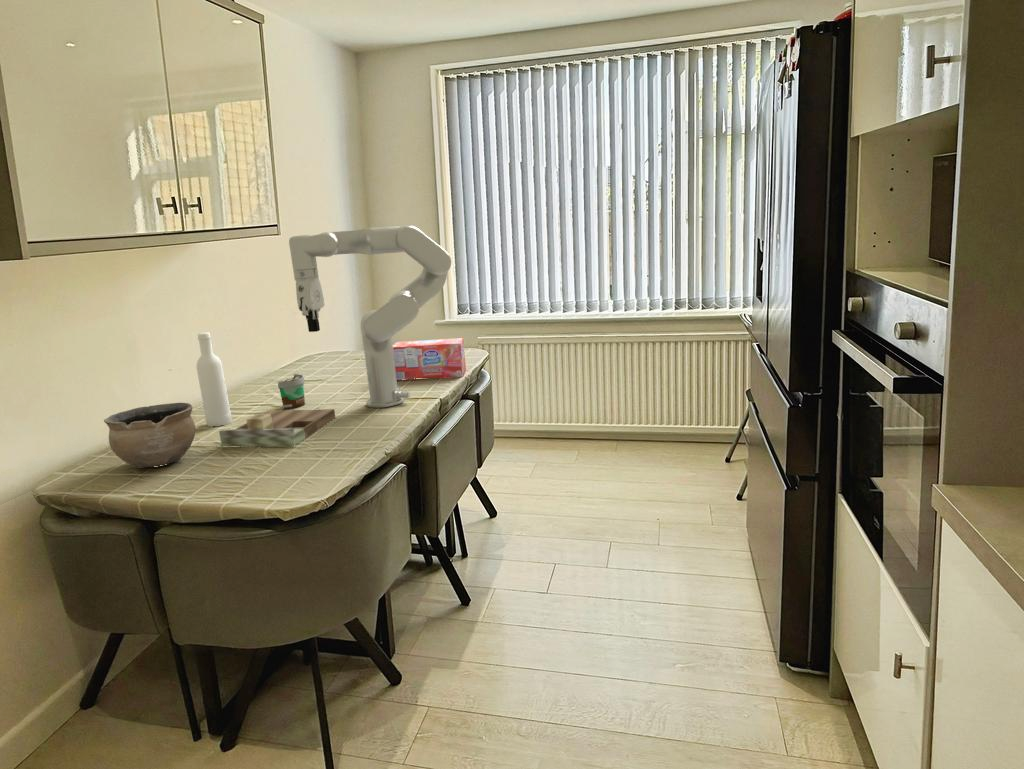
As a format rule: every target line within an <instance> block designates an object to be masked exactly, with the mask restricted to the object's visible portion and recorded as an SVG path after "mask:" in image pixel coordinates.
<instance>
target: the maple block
mask: <svg viewBox="0 0 1024 769" xmlns="http://www.w3.org/2000/svg"><path fill="white" fill-rule="evenodd" d="M245 420H246V423H247V426H248V429H273V424H272V418H271V414H264V413H261V414H258V413H257V414H254V415H252V416H250V417H248V418H247V419H245Z"/></svg>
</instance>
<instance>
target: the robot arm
mask: <svg viewBox="0 0 1024 769" xmlns="http://www.w3.org/2000/svg"><path fill="white" fill-rule="evenodd" d="M288 246H289V251H290V258H291V264H292V270H293V277H294V281H295V292H296V301H297V308H298V310H299V311H300V312H301V315H302V316H305V320H306V321H307V329H308V332H309V333H315V332H319V331H320V330H321V328H320V322H319V318H320V317H319V316H320V315H319V312H320V311H321V309H323V308H324V307H325V299H324V295H323V294H324V293H323V290H322V285H321V282H320V281H321V280H320V278H319V277H320V276H319V271H318V270H319V269H318V262H317V257H321V258H328V257H329V258H330V257H332V256H337V255H350V254H351V255H354V254H355V255H356V254H361V255H371V256H372V255H373V256H374V255H383V254H385V255H387V254H396V253H406V255H408V256H409V257H410V258H411V259H413V261H415V262H417V264H420V266H421V267H423V268H422V270H421V273H420V274H419V275H418V276H417V277H416V278H415V279H414V280H412V281H411V282H410V283H408V284H407V285H406V286H404V287H403V288H401V289H400V290H398V291H397V292H395V293H394V294H392V295H391V296H390V298H389V299H388V302H386V303H385V304H383V305H382V306H381V307H379V309H372V310H369V311H367V312H366V313H364V314H363V316H362V318H361V320H360V331H361V336H362V337H361V338H362V345H363V351H364V360H365V368H366V375H367V383H368V390H369V399H368V400H366V402H365V404H366V407H370V408H378V409H379V408H387V407H388V408H389V407H393V406H397V405H401V404H402V403H403V402H404V399H410V397H411V394H410V392H409V391H408V390H407V391H402V389H401V387H398V381H397V378H396V370H395V361H394V352H393V345H394V344H393V338H392V337H393V336H394V335H396V334H397V333H399V332H400V331H401V330H403V329H404V328H405V327H407V326H408V325H409V324H411V323H413V321H414V320H415V319H416V318H417V316H418V314H419V311H420V309H421V308H422V307H424V306H425V305H426V304H427V303H428V302H430V301H431V300H433V299H434V298H435V297H436V296H437V295H438V294H439V293H440V292H441V291H442V289H443V287H444V286H445V283H446V281H447V277H448V272H449V270H450V269H451V266H452V258H451V256H450V254H449V252H448V251H446V250H445V249H444V248H443V247H442V246H441V245H439V243H436V242H435V241H434V240H433V239H431V237H429V236H428V235H426V234H425V233H424V232H423V231H422V230H420V229H419V228H418V227H416V226H414V225H396V226H395V225H394V226H381V227H380V226H378V227H366V228H361V229H355V230H343V231H327V232H321V233H319V234H313V235H309V234H307V235H306V234H303V235H302V234H301V235H294V236H291V237H290V238H289V239H288Z"/></svg>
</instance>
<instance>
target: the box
mask: <svg viewBox="0 0 1024 769" xmlns="http://www.w3.org/2000/svg"><path fill="white" fill-rule="evenodd" d="M393 352H394V361H395V370H396V378H397V380H402V379H414V378H415V379H416V378H438V379H447V378H446V377H452V378H462V377H463V376H464V374H465V372H466V371H467V366H466V356H465V354H466V353H465V345H464V337H459V338H439V339H426V340H425V339H424V340H408V341H396V342H395V343H394V344H393ZM444 377H445V378H444ZM402 381H403V380H402Z"/></svg>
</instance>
